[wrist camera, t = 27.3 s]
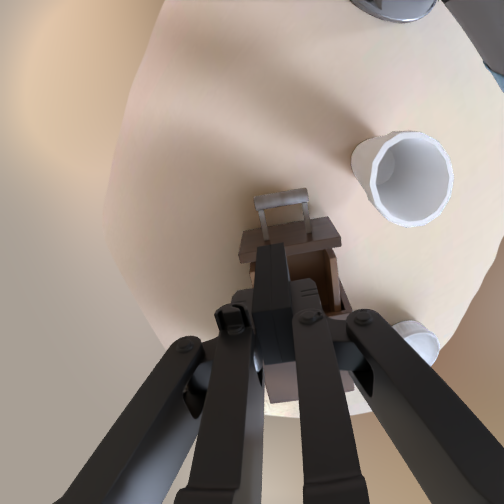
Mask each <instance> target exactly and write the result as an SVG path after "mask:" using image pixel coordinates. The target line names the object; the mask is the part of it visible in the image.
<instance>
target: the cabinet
mask: <svg viewBox="0 0 504 504" xmlns="http://www.w3.org/2000/svg"><path fill="white" fill-rule="evenodd" d="M338 278H339V277H338ZM339 290H340V302H341V311H337V312H332V313H326V314H325V315H326V316H328V317H329V318H332V319H337V320H346V318H347V316H348V315H349V314H350V313H351V312H353V311H352V308H351V306H350V303H349V301H348V298H347V296H346V293H345V291H344V289H343V286H342V284H341V281H340V279H339ZM263 369H264V373H265V385H266V389H267V393H268V396H269V400H270V403H271V404H272V403H280V402H288V401H296V400H299V397H298V385H297V373H296V361H294V362H287V363H280V364H272V365H264V361H263ZM340 374H341V379H342V383H343V387H344V392H349V391H354V382H353V380H352V379H351V377H350V376H349V373H348V371H343V370H340Z"/></svg>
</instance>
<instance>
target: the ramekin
mask: <svg viewBox="0 0 504 504" xmlns="http://www.w3.org/2000/svg"><path fill="white" fill-rule="evenodd" d="M392 327H393V328H394V329H395V330H396V331H397V332H398V333H399V335H400V336H401V337H402V338H403V339H404V340H405V341H406V342H407V343H408V344H409V345H410V346H411V347H412V348H413V349H414V350H415V351H416V352H417V353H418V354H419V355H420V356H421V357H422V358H423V359H424V360H425V361H426V362H427V363H428V364H429V366H430V367H431V365H432V364H433V363H434V361H435V360H436V358H437V356H438V353H439V349H440V344H439V340H438V338H437V337H436V335H435V334H434V333H433V332H431V331H429V330H428V329H427V328H426V327H425V326H424V325H422V324H421V323H419V322H417V321H411V320H410V321H402V322H399V323H397V324H395V325H393V326H392Z"/></svg>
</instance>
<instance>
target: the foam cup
mask: <svg viewBox="0 0 504 504" xmlns="http://www.w3.org/2000/svg"><path fill="white" fill-rule="evenodd" d="M351 167H352V170H353V173H354V175H355V177H356V178H357V180H358V181H359V183H360V184H361V186H362V187H363V189H364V190H365V192H366V194H367V197H368V200H369V201H370V202H371V203H372V204H373V206H374V207H375V208H376V209H377V210H378V211H379V212H380V213H381V214H382V215H383V216H384V217H385V218H386V219H387V220H388V221H390V222H393V223H396V224H398V225H401V226H403V227H406V228H407V227H415V226H423V225H425V224H427V223H428V222H430V221H431V220H433V219H434V218H436V217H437V216H439V215H440V214H441V212H442V211H443V209H444V207H445V206H446V204H447V203H448V201H449V199H450V198H451V192H452V187H453V181H454V175H453V170H452V165H451V160H450V157H449V156H448V154H447V153H446V151H445V150H444V148H443V147H442V146H441V144H440V143H439V141H437V140H435V139H434V138H432V137H430V136H428V135H426V134H424V133H422V132H417V131H392V132H391V133H389V134H387V135H384V136H380V137H376V138H372V139H368V140H365V141H364V142H362V143H360V144H359V145H357V147H356V148H355V150H354V152H353V153H352V158H351Z"/></svg>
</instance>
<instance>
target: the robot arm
mask: <svg viewBox="0 0 504 504" xmlns="http://www.w3.org/2000/svg"><path fill="white" fill-rule="evenodd" d="M350 1H351V2H352V3H353V4H355V5H356V6H357V7H359V8H360V9H361V10H363V11H365V12H366V13H368V14H370V15H372V16H374V17H377V18H379V19H382V20H385V21H389V22H395V23H408V22H413V21H416V20H418V19H420V18H422V17H424V16H425V15H427V14H428V13H429V12H430V11H431V10H432V8H433V7H434V5H435V3H436V1H437V0H350ZM438 1H439V0H438ZM442 2H443V3H444V4H445V6H446V7H447V8H448V10H449V11H450V12H451V13H452V15H453V16H454V17H455V19H456V20H457V22H458V23H459V24H460V26H461V27H462V29H463V30H464V31H465V33H466V34H467V36H468V37H469V39H470V40H471V42H472V43H473V45H474V46H475V48H476V49H477V51H478V53H479V54H480V56H481V57H482V59H483V63H484V65H485V67H486V68H487V69H488V70H489V71H490V72H491V73H492V75H493V76H494V78H495V80H496V81H497V83H498V85H499V87H500V88H501V90H502V91H503V92H504V0H442ZM214 316H215V319H216V322H217V325H218V328H219V331H220V332H219V336H218V337H216V338H214V339H212V340H209V341H206V342H202V343H201V340H200V339H199V338H198V337H195V336H185V337H182V338H179V339H178V340H176V341H175V342H174V343H173V344H172V345H171V346H170V347H169V349H168V350H167V351H166V353H165V354H164V355H163V357H162V358H161V360H160V361H159V362H158V364H157V365H156V366H155V368H154V369H153V371H152V372H151V373H150V375H149V376H148V377H147V379H146V380H145V382H144V383H143V384H142V386H141V387H140V388H139V390H138V391H137V393H136V394H135V396H134V397H133V398H132V400H131V401H130V402H129V404H128V405H127V407H126V408H125V409H124V411H123V412H122V413H121V415H120V416H119V418H118V419H117V420H116V422H115V423H114V425H113V426H112V427H111V429H110V430H109V432H108V433H107V435H106V436H105V437H104V439H103V440H102V442H101V443H100V444H99V446H98V447H97V449H96V450H95V452H94V453H93V454H92V456H91V457H90V459H89V460H88V461H87V463H86V464H85V465H84V467H83V468H82V470H81V471H80V472H79V474H78V475H77V477H76V478H75V480H74V481H73V482H72V484H71V485H70V487H69V488H68V490H67V491H66V492H65V494H64V495H63V497H61V498H60V499H58V500H57V501H56V502H54V503H53V504H162V502H163V500H164V498H165V496H166V494H167V493H168V491H169V489H170V487H171V485H172V483H173V481H174V479H175V477H176V476H177V474H178V472H179V470H180V468H181V466H182V464H183V462H184V460H185V458H186V456H187V454H188V452H189V450H190V448H191V446H192V445H193V443H194V441H195V439H196V436H197V435H198V437H197V442H196V447H195V451H194V457H193V461H192V467H191V471H190V477H189V482H188V485H187V486H186V487H185V488H182V489H180V490H179V491H178V492H177V494H176V497H175V500H174V504H261V491H262V462H263V460H262V459H263V426H264V387H265V373H264V369H263V361H264V365H272V364H280V363H287V362H294V361H296V373H297V385H298V397H299V411H300V423H301V438H302V439H301V440H302V456H303V473H304V486H303V504H370V502H369V496H368V490H367V485H366V481H365V478H364V477H363V476H362V474H361V470H360V464H359V459H358V454H357V449H356V444H355V439H354V434H353V429H352V424H351V419H350V414H349V410H348V405H347V401H346V396H345V392H344V387H343V383H342V379H341V374H340V370H343V371H348V373H349V376H350V377H351V379H352V380H353V382H354V383H355V385H356V386H357V388H358V389H359V391H360V392H361V394H362V395H363V397H364V399H365V400H366V402H367V403H368V405H369V406H370V408H371V409H372V411H373V412H374V414H375V415H376V417H377V418H378V420H379V422H380V423H381V425H382V426H383V428H384V429H385V431H386V433H387V434H388V436H389V437H390V438H391V440H392V442H393V443H394V445H395V447H396V448H397V450H398V451H399V453H400V454H401V456H402V457H403V459H404V461H405V462H406V463H407V465H408V467H409V468H410V470H411V472H412V473H413V475H414V476H415V478H416V479H417V481H418V483H419V484H420V486H421V487H422V489H423V491H424V492H425V494H426V495H427V497H428V499H429V500H430V502H431V503H432V504H504V448H503V446H502V445H501V444H500V443H499V442H498V441H497V439H496V438H495V437H494V436H493V435H492V434H491V433H490V431H489V430H488V429H487V428H486V427H485V426H484V425H483V424H482V422H481V421H480V420H479V419H478V418H477V417H476V415H474V413H473V412H472V411H471V410H470V409H469V408H468V407H467V405H466V404H465V403H464V402H463V401H462V400H461V399H460V398H459V397H458V396H457V394H456V393H455V392H454V391H453V390H452V389H451V388H450V387H449V386H448V385H447V384H446V383H445V381H444V380H443V379H442V378H441V377H440V376H439V375H438V374H437V373H436V372H435V371H434V370H433V369H432V368H431V367H430V366H429V364H428V363H427V362H426V361H425V360H424V359H423V358H422V357H421V356H420V355H419V354H418V353H417V352H416V351H415V350H414V349H413V348H412V347H411V346H410V345H409V344H408V343H407V342H406V341H405V340H404V339H403V338H402V337H401V336H400V335H399V333H398V332H397V331H396V330H395V329H394V328H393V327H392V326H391V325H390V324H389V323H388V322H387V321H386V320H385V319H384V318H383V317H382V316H381V315H380V314H379V313H377V312H376V311H374V310H370V309H359V310H355V311H353V312H351V313H350V314H349V315H348V316H347V318H346V320H337V319H332V318H329V317H328V316H326V315H325V313H324V312H323V309H322V305H321V301H320V298H319V294H318V290H317V286H316V283H315V282H314V281H313V280H312V279H310V278H306V279H301V280H295V281H290V275H289V269H288V264H287V258H286V252H285V247H284V242H282V243H277V244H271V245H265V246H259V247H257V254H256V265H255V277H254V288H251V289H244V290H238V291H237V292H236V293H235V294H234V295H233V296H232V300H231V303H230V304H226V305H224V306H222V307H220V308H219V309H218V310H216V312H215V314H214Z"/></svg>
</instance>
